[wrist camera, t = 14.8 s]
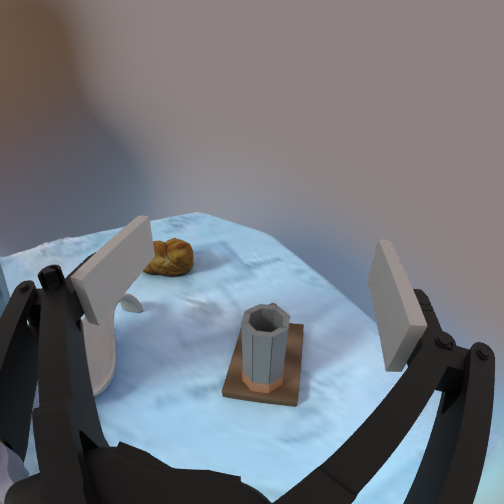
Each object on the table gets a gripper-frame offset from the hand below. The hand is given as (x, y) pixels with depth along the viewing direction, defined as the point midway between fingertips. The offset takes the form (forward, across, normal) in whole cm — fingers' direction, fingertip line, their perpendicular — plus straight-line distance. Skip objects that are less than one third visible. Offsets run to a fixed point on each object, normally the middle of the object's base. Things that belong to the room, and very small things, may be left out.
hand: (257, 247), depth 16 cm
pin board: (+14, 0, -27) cm, 31 cm away
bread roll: (+35, -25, -28) cm, 52 cm away
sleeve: (+10, 0, -26) cm, 27 cm away
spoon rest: (+9, -26, -28) cm, 39 cm away
